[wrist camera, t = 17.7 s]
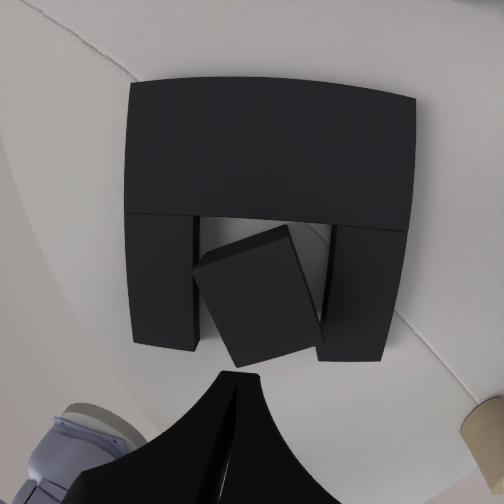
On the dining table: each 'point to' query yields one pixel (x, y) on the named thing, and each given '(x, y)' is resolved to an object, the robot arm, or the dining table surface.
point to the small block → (259, 297)
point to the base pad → (268, 194)
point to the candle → (487, 441)
